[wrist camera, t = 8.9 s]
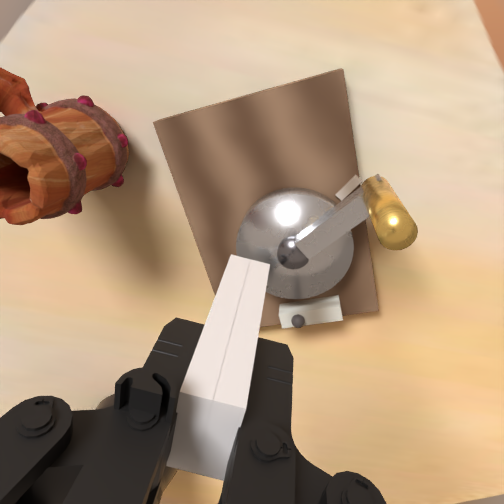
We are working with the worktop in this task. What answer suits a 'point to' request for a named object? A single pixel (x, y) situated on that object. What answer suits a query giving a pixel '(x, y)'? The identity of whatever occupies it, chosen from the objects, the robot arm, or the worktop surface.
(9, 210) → the mug
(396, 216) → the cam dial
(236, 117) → the stand
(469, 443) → the worktop surface
